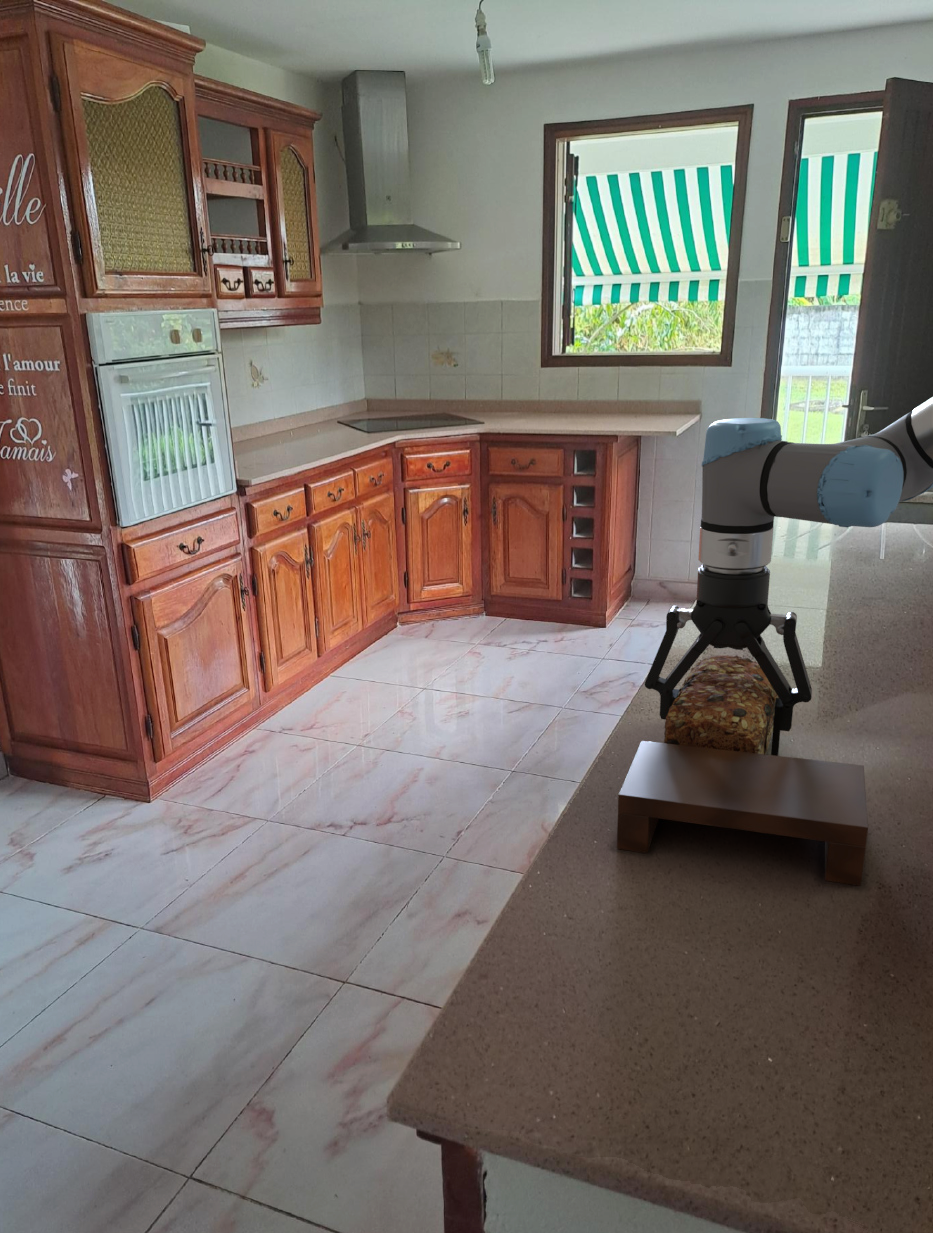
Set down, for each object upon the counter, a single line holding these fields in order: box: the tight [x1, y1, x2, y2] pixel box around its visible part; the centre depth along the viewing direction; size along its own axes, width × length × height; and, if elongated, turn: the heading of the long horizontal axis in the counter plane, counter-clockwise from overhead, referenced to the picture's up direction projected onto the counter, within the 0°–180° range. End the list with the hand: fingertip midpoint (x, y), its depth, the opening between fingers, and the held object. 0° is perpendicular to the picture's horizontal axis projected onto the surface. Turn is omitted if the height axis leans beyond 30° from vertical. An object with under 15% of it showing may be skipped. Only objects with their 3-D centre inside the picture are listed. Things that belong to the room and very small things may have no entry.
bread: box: [663, 654, 779, 755], centre depth 111 cm, size 19×11×10 cm, turn 154°
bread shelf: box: [616, 740, 869, 887], centre depth 95 cm, size 22×13×6 cm, turn 69°
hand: (722, 749), depth 112 cm, fingers closed on bread, 11 cm apart
